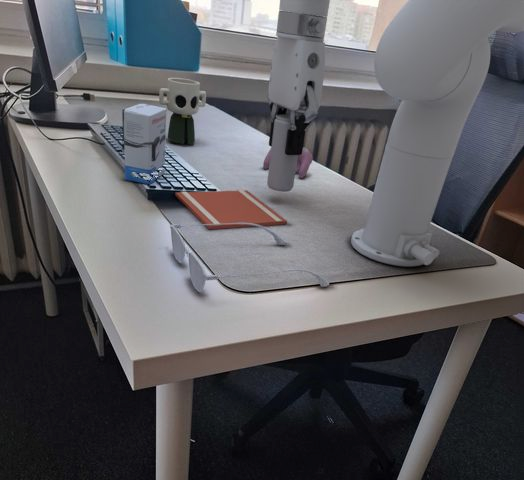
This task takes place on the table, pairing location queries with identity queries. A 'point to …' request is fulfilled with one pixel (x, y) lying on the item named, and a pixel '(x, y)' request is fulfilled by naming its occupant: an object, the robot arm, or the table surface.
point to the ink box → (144, 140)
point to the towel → (229, 209)
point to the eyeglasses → (200, 276)
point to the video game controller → (302, 162)
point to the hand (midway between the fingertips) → (285, 149)
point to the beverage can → (281, 158)
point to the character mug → (182, 107)
